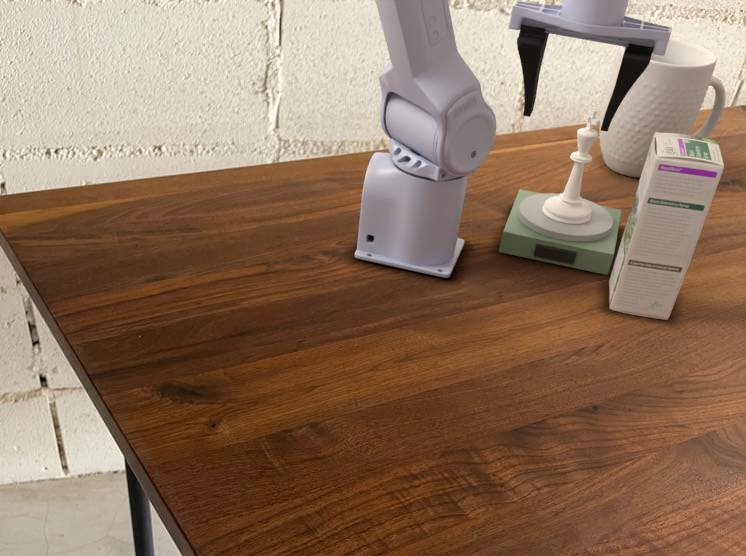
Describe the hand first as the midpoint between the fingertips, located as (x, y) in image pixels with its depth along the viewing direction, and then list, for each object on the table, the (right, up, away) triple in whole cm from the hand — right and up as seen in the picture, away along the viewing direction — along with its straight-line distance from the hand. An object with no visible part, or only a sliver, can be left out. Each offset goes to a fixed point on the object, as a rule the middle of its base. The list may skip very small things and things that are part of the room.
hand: (566, 120), depth 88 cm
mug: (+14, +4, +20) cm, 25 cm away
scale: (0, -10, +4) cm, 11 cm away
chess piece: (+1, -8, +3) cm, 9 cm away
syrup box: (+6, -19, -3) cm, 20 cm away
